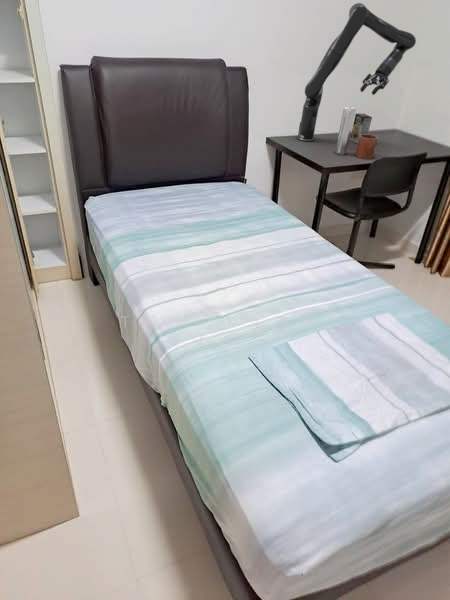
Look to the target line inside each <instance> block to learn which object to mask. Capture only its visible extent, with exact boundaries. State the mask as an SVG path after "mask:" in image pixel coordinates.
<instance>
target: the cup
mask: <svg viewBox="0 0 450 600" xmlns="http://www.w3.org/2000/svg"><path fill="white" fill-rule="evenodd" d="M377 142H378V136H376V135H373V134H369V133H368V134H361V135H360V136H359V140H358V144H357V145H356V149H355V153H354V154H355V155H354V156H355V157H357V158H360V159H367V160H371V159H373V157H374V154H375V151H376V148H377V147H376V146H377Z"/></svg>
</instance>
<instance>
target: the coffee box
mask: <svg viewBox="0 0 450 600" xmlns="http://www.w3.org/2000/svg"><path fill="white" fill-rule="evenodd" d="M372 119H373V116H370V115H368V114H366V113H355V116H354V120H353V125H352V129H351V133H350V138H349V141H351V142H353V143H355V144H357V145H358V140H359V136H360V135H361V134H369V131H370V127H371V123H372Z"/></svg>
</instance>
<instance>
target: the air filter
mask: <svg viewBox="0 0 450 600" xmlns="http://www.w3.org/2000/svg"><path fill="white" fill-rule="evenodd" d="M356 111H357V109H356V107H353V106H345V107H344V108H343V112H342V116H341V122H340V125H339V130H338V135H337V139H336V143H335V149H334V154H336V155H339V156H344V155H346V154H347V151H348V146H349V142H350V137H351V132H352V128H353V124H354V119H355V115H356Z"/></svg>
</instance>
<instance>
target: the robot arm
mask: <svg viewBox="0 0 450 600" xmlns="http://www.w3.org/2000/svg"><path fill="white" fill-rule="evenodd" d="M363 26H365V28H368V29H369V30H371V31H372V32H374V33H375V34H376V35H377V36H379V37H380V38H381V39H383V40H385V41H386V42H388V43H390V44H395V45H394V47H393V49H392V50H391V52H390V53H388V55H387V56H386V58H385V59H383V61H382V62H381V63H380V64H379V65H378V67H377V68H376V69H375V72H374V73H373V75H372V74H371V73H368V74H367V75H366V76H365V78H364V79H363V80H362V86H361V87H360V88H359V90H360V93H364V91H365V90H366V89H367V87H369V86H372V85H375V87H374V88H373V89H372V91H371V95H373V96H374V95H376V94H377V93H378V91H379V90H384V89H385V87H386V86H387V85H388V84H389V82H390V78H389V77H390V75H391V74H392V73H393V72H394V70H395V69H396V67H397V66H398V65H399V63H400V62H401V61H402V60H403V57H404V55H405V54H406V52H407V51H409V50H410V49H412V48H413V47H415V45H416V43H417V39H416V37H415V35H414V34H413V33H411V32H408V31H405V30H402V29H399V28H398V27H396V26H394V25H393V24H391V23H390V22H387V21H386V20H383V19H382V18H381V17H379V16H377V15H376V14H374V13H373V12H371V11H370V10H369V8H367V6H366V5H365V4H364V3H362V2H357V3H354V4H353V5H351V7H350V8H349V11H348V20H347V22H346V24H345V25H344V27H343V29H342V31H341V32H340V33H339V34H338V36H337V37H336V38H335V39H334V40H333V41H332V42H331V43H330V45H329V47H328V49H327V51H326V52H325V54H324V56H323V58H322V59H321V61H320V64H319V65H318V67H317V69H316V71H315V72H314V74H313V76H312V77H311V79H310V80H309V81H308V82H307V84H306V85H305V88H304V95H305V101H304V104H303V107H302V112H301V117H300V118H301V119H300V122H299V127H298V132H297V139H298V140H300V141H304V142H312V141H314V137H315V131H316V125H317V119H318V115H319V109H320V106H321V102H322V97H323V94H324V93H323V91H324V84H325V82H326V80H328V78H329V76H330V75H331V74H332V73H333V72H334V71H335V69H336V68H337V67H338V66H339V65H340V63H341V61H342V59H343V58H344V56H345V54H346V53H347V51H348V49H349V48H350V46H351V44H352V42H353V41H354V38H355V37H356V35H357V34H358V33H359V31H360V30H361V28H362V27H363Z"/></svg>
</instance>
